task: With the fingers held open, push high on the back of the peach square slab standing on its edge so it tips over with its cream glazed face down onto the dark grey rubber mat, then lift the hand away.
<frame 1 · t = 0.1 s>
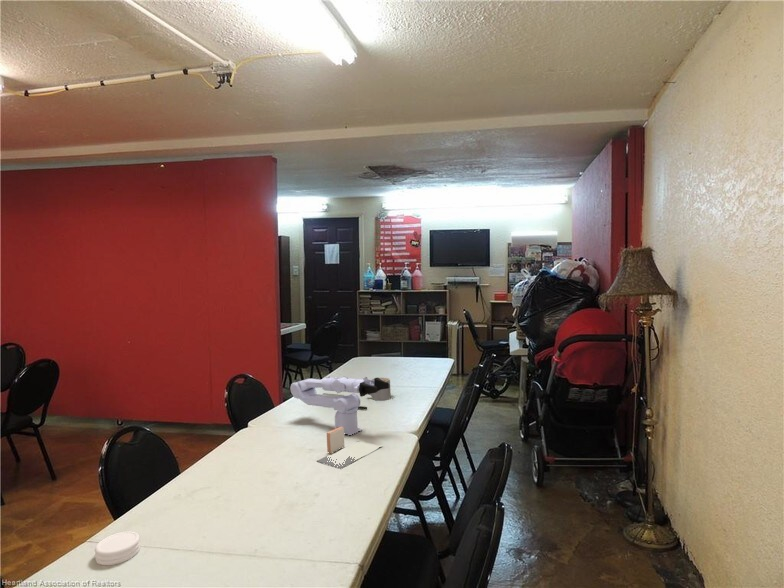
hand: (382, 387, 193), 22 cm above the table, tool horizontal, fingers open, 7 cm apart
rubber mat: (350, 453, 182), on the table
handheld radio: (344, 408, 241), on the table
white thick disc: (118, 555, 123), on the table
peach square slab: (336, 450, 186), on the table
coffee mug: (378, 398, 256), on the table
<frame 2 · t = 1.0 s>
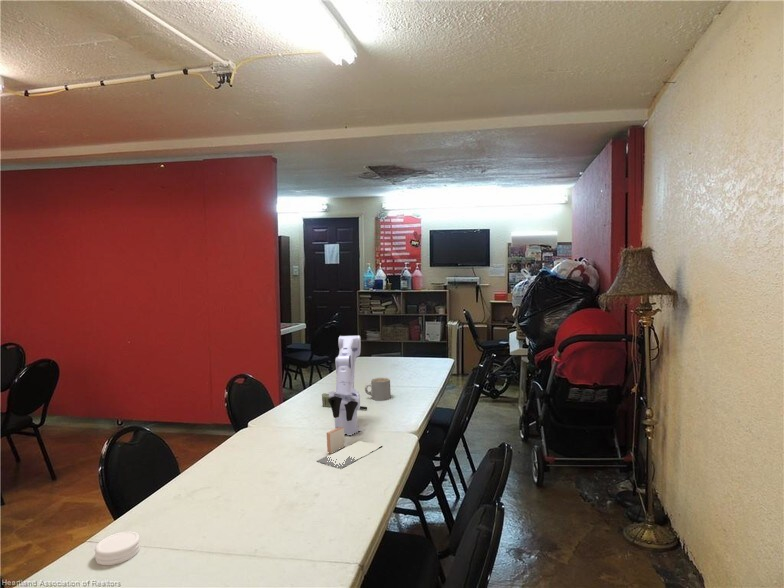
hand: (342, 419, 185), 12 cm above the table, tool tilted 30°, fingers open, 7 cm apart
nothing on the table moved.
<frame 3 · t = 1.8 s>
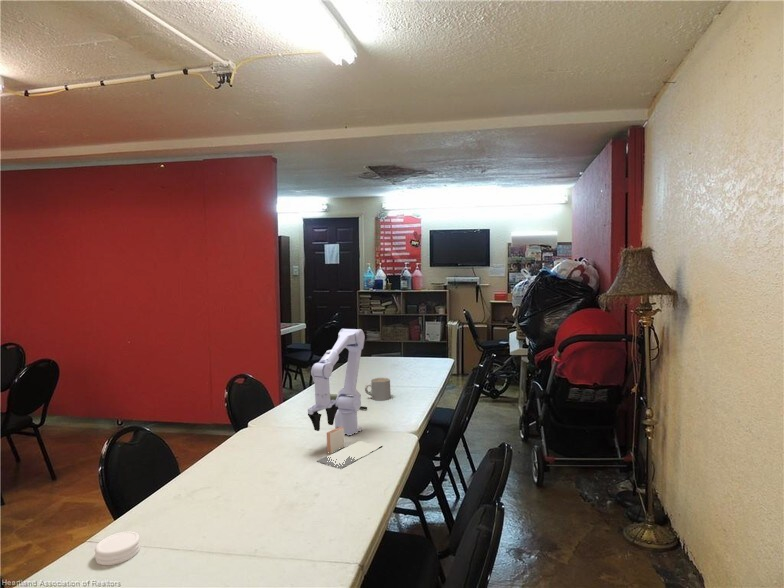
hand: (323, 427, 189), 8 cm above the table, tool pointing down, fingers open, 7 cm apart
nothing on the table moved.
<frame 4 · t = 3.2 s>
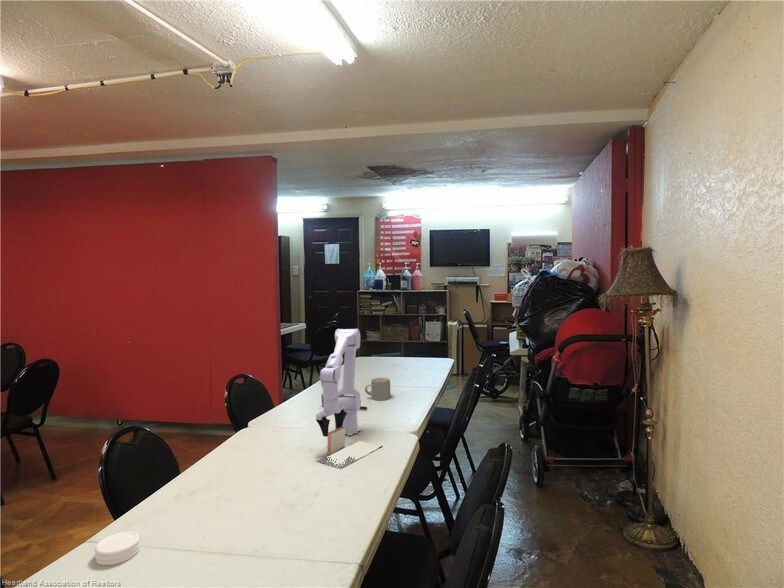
hand: (332, 433, 187), 6 cm above the table, tool pointing down, fingers open, 7 cm apart
nothing on the table moved.
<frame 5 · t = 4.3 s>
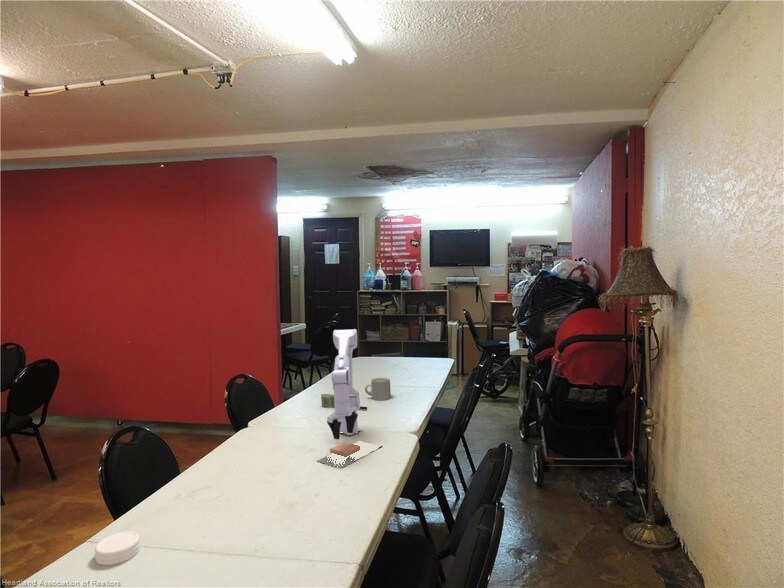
hand: (343, 435, 184), 6 cm above the table, tool pointing down, fingers open, 7 cm apart
peach square slab: (337, 447, 186), point 1 cm above the table, tilted 90°, touching rubber mat
everything else where it was.
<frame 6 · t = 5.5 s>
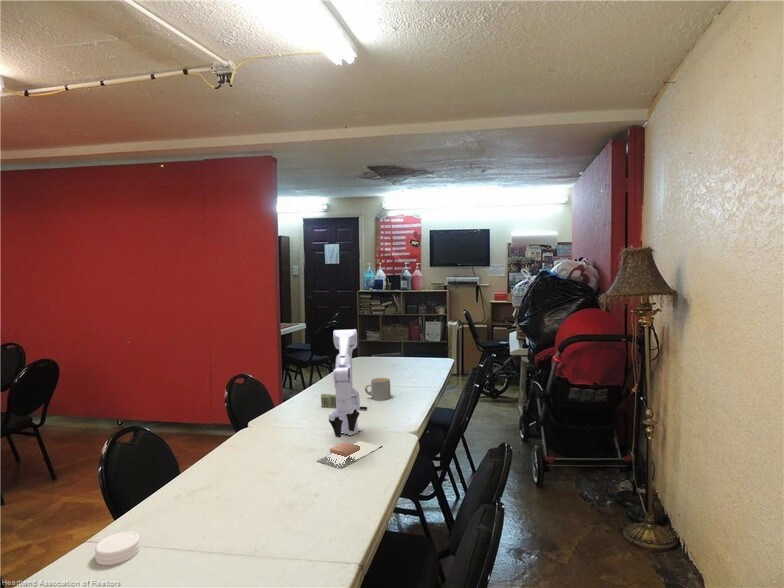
hand: (345, 433, 183), 7 cm above the table, tool pointing down, fingers open, 7 cm apart
nothing on the table moved.
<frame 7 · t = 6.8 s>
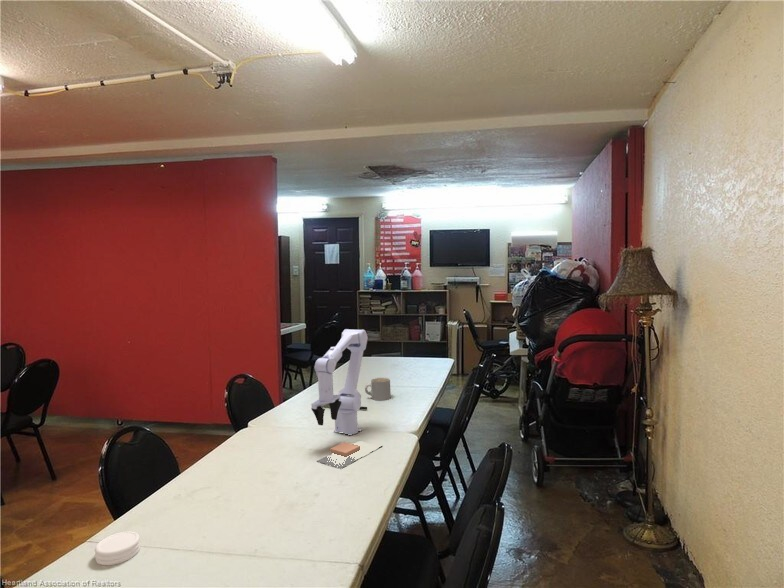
hand: (327, 422, 191), 9 cm above the table, tool pointing down, fingers open, 7 cm apart
nothing on the table moved.
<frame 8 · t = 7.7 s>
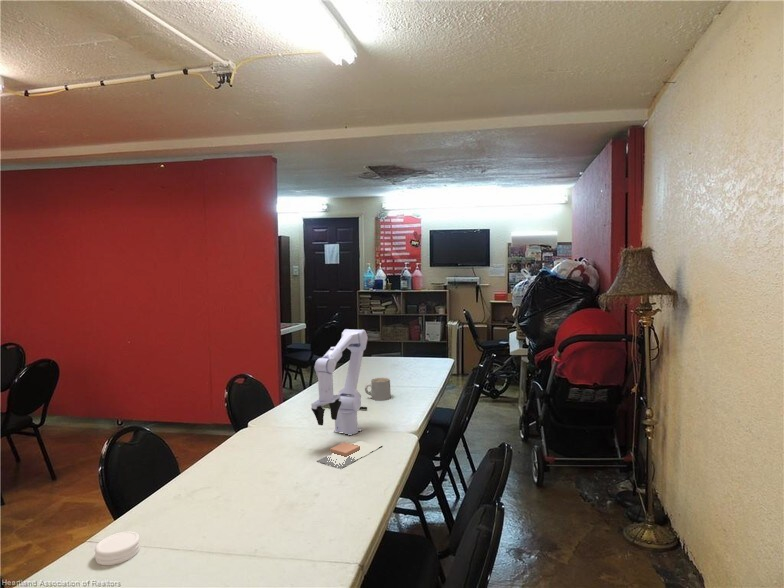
hand: (327, 422, 191), 9 cm above the table, tool pointing down, fingers open, 7 cm apart
at the end: peach square slab tilted 90°; peach square slab inside the target area (1.3 cm from its centre), point 1.2 cm above the table; peach square slab touching rubber mat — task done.
